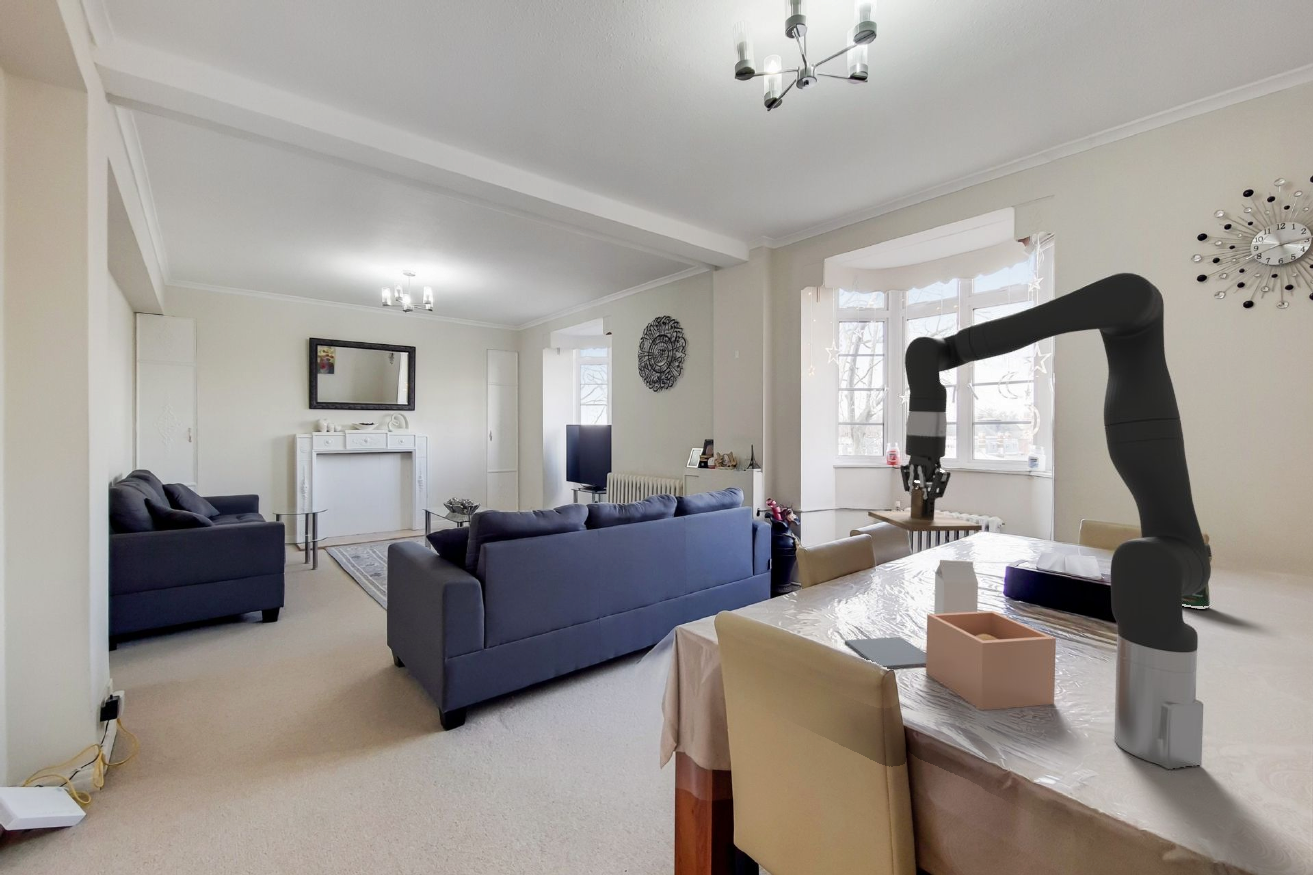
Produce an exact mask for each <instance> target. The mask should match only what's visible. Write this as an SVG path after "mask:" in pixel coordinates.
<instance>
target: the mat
mask: <svg viewBox="0 0 1313 875" xmlns="http://www.w3.org/2000/svg"><path fill="white" fill-rule="evenodd" d="M844 644H846V646H848V647H849V648H851V649H852V650H854V651H855V652H856V653H857V654H859V655H860V656H861V657H862V658H864V659H865V658H866V659H865V660H867V659H868V660H871V661H872V662H876V663H877V664H879V665H882V666H883V667H887V668H889V669H901V668H914V667H915V668H916V667H926V651H924V650H922V649H920V648H918V646H915V645H914V644H912V643H911V642H909V641H907V640H906V639H904V638H902V637H901V636H892V637H877V638H860V639H845V640H844ZM868 660H867V661H868Z"/></svg>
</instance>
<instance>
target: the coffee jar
mask: <svg viewBox="0 0 1313 875" xmlns="http://www.w3.org/2000/svg"><path fill="white" fill-rule="evenodd" d="M1204 543H1205V542H1204ZM1205 546H1206V549H1207V553H1208V556H1209V560H1210V563H1211V562H1212V560H1213V556H1212V548H1211V546H1210V544H1209V543H1207V542H1206V543H1205ZM1209 585H1210V584H1209V582H1208V583H1207V585H1206V586H1205V587H1204V588H1203V589H1202V590H1201V591H1199V592H1197V593H1195V594H1192V595H1187V596H1182V604H1186V605H1191V606H1203V607H1204V606H1209V605H1210V603H1211V602H1210V601H1211V600H1210V599H1211V598H1210V588H1209ZM1209 607H1210V606H1209Z"/></svg>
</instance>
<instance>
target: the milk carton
mask: <svg viewBox="0 0 1313 875" xmlns="http://www.w3.org/2000/svg"><path fill="white" fill-rule="evenodd" d="M934 574H935V575H934V576H935V577H934V613H933V614H943V613H962V612H978V603H979V600H978V599H979V582H978V578H977V575H976V572H975V568H974V561H973V560H971V561H970V560H949V559H939V564H938V566H937V568H936V571H935V573H934Z"/></svg>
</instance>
